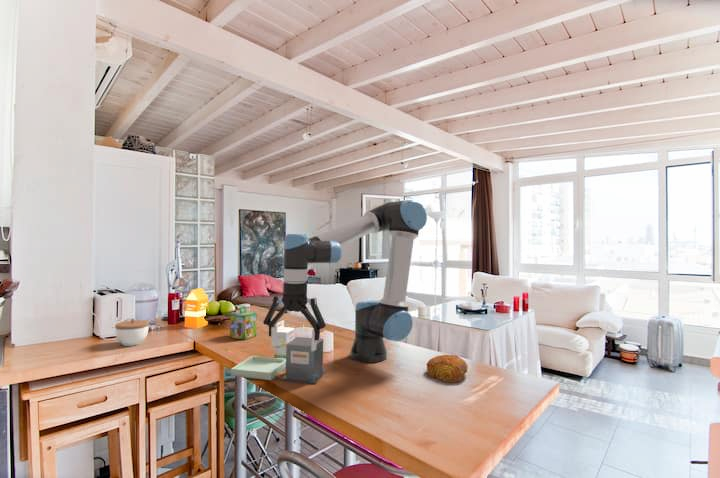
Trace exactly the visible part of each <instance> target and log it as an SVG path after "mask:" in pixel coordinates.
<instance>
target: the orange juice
mask: <svg viewBox="0 0 720 478" xmlns="http://www.w3.org/2000/svg"><path fill="white" fill-rule="evenodd" d="M184 305H185V306H184V307H185V308H184V328H190V329H191V328H192V329H199V328H203V327H205V326H207V325H208V321H206V320H205V319H204V317H205V316H206V309H207V308H206V307H208V308H209V298H208V296H207V293H206V292H205V290H204V288H203V287H201V288H195V289H194V288H193V289H191V291H190V292H189V293H188V296H187V297H186V298H185V304H184Z"/></svg>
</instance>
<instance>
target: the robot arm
mask: <svg viewBox="0 0 720 478" xmlns="http://www.w3.org/2000/svg"><path fill="white" fill-rule="evenodd" d="M427 219H428V217H427V211H426V208H424V206H423V204H422V203H421V202H420V201H418V200H415V199H404V200H397V201H390V202H389V201H388V202H385V203H383V204H382V205H379V206H376V207H375V208H372V209H370V210H368V211H366V212H364V214H363V215H362V216H360V217H357V218H355V219H353V220H351V221H348V222H346V223H342V224H340V225H338V226H336V227H334V228H332V229H329V230H326V231H324V232H322V233H320V234H319V233H318V234H317V235H315V236H313V237H309V235H308V234H306V233H305V234H303V233H287V235H285V238H284V245H283V251H284V253H283V254H284V255H283V257H284V258H283V285H282V290H283V291H282V296H280V295H275V296H274V297H273V299H272V304H271V306H270V308H269V310H268V312H267V314H266V316H265V318H264V319H263V325H265V326H268V336H269V337H270V348H271V349H273V348H274V349H275V346H277V326H276V324H277V323H278V321H279V320H280V319H281V318H282V317H283V316H284V314H285V313H286V312H287V311H289V312H296V313H297V312H300V313H301V314H302V315H303V316H304V317H305V318H306V320H307V321H308V323H309V324H310V326H311V327H312V328H313V329H312V330H311V338H312V346H311V351H315V350H316V344H317V340H319V339H321V338H320V333H321V332H320V330H322V329H323V330H324V328H325V327H326V325H327V324H326V323H325V320H324V318H323V316H322V313H321V311H320V308H319V307H318V303H317V298H316V297H312V298H308V283H307V281H308V264H336V263H338V262H339V261H340V260H341V258H342V252H343V251H342V247H343V246H345V245H347V244H349V243H352V242H354V241H356V240H358V239H360V238H363V237H365V236H367V235H369V234H374V235H375V234H377V233H379V232H382V231H383V232H384V231H388V233H389V235H390V236H391V241H390V248H389V254H388V262H387V263H388V264H387V269H386V275H385V283H384V290H383V291H384V292H383V297H382V298H381V299H380V300H364V301H363V300H362V301H358V302H356V304H355V311H354V312H355V315H354V316H355V321H354V323H355V324H354V325H355V326H354V339H353V342H352V345H351V348H350V350H349V353H350V355H349V356H350V358H351V359H352V360H354V361H356V362H361V363H362V362H363V363H377V362H382V361H385V360H386V359H387V358H388V352H387V348H386V345H385V341H384V339H386V340H387V341H393V342H401V341H403V340H405V339H406V337H408V336H409V334H410V333H411V331H412V330H413V329H412V328H413V325H414V324H413V323H414V322H413V317H412V315H411V313H409V305H408V304H407V303H408V302H406V299H407V297H406V296H407V290H408V286H409V285H408V284H409V283H408V282H409V277H410V269H411V262H412V255H413V254H412V253H413V248H414V247H413V246H414V242H415V241H414V240H415V239H417V238H418V237H419V234H420V233H419V232H420V230H421V229H423V228H424V227H425V226H426V224H427V221H428V220H427ZM281 302H282V304H283V306H282V308H280V310H279V311H278V312H277V314H275V312H276V310H277V309H278V307H279V304H280V303H281ZM307 305H309V306H310V307H311V310H312V312H313V315H314V316H313V315H312V313H311V311H310V310H309V308H308V306H307ZM274 314H275V316H274Z"/></svg>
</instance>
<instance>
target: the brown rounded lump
mask: <svg viewBox="0 0 720 478" xmlns="http://www.w3.org/2000/svg"><path fill="white" fill-rule="evenodd" d="M426 370H427V371H426V372H427V374H428V375H429V377H430V378H433V379H438V380H439V381H444V382H447V383H456V382H459V381H461V379H462V378H463V377H464V376H465V374H467V372H468V364H467V361H465V360H464V359H462V358H461V357H459V356H458V355H454V354H442V355H437V356H434V357H432V358H430V359H429V360H428V361H427V363H426Z"/></svg>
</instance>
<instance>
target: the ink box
mask: <svg viewBox="0 0 720 478" xmlns="http://www.w3.org/2000/svg"><path fill="white" fill-rule="evenodd" d="M275 326H277V346H275V347H274V356H273V358H283V359H286V344H288V343H289V342H290V341H292V340H293V339H295V327H286V326H285V319H283V320H281V321H279V322H277V323H276V324H275Z"/></svg>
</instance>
